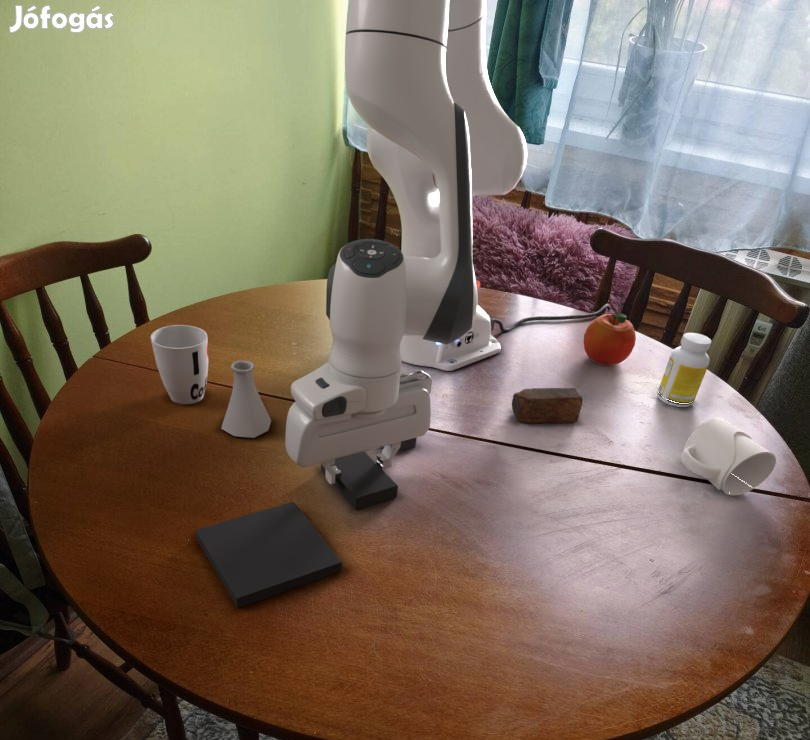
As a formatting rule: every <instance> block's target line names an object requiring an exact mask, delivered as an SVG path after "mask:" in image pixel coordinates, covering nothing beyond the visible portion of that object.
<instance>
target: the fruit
mask: <svg viewBox="0 0 810 740" xmlns="http://www.w3.org/2000/svg"><path fill="white" fill-rule="evenodd" d="M636 340H637V336H636V330H635V328H634V325H633V323H632V322H631V321H630V320H627V315H626V314H624V313H621V312H619V313H618V312H617V311H616V312H614V313H612V314H611V313H605V314H600V315H598V317H597V316H596V318H595V319H593V320H592V322H591V323H590V324H589V325H588V327H587V328H586V330H585V332H584V335H583V342H582V343H583V347H584V348H583V349H584V352H585V354H586V356H587V357H588V358H589V359H590V360H591V361H593V362H594V363H596V364H599V365H602V366H614V365H619V364H620V363H622V362H624V361H625V360H627V359H628V357H629V356H630V355H631V354H632V352H633V350H634V348H635V345H636Z"/></svg>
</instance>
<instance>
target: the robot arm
mask: <svg viewBox="0 0 810 740" xmlns="http://www.w3.org/2000/svg"><path fill="white" fill-rule="evenodd" d="M345 24H346V25H345V37H344V38H345V39H344V41H345V42H344V79H345V90H346V93H347V96H348V99H349V101H350V103H351V105H352V107H353V109H354V110H355V112H356V113H357V115H358V116H359V117H360V118H361V120H362V121H364V122H365V123H366V125H368V128H367V131H366V149H367V150H366V151H367V154H368V157H369V160H370V162H371V164H372V166H373V168H374V169H375V171H377V172H378V173H379V175H380V176H381V177H382V178H383V180H384V181H385V182H386V184H387V186H388V187H389V189H390V191H391V193H392V195H393V198H394V200H395V202H396V206H397V209H398V213H399V217H400V224H401V245H400V246H401V247H400V248H401V249H400V248H399V247H397V246H395V245H394V244H392V243H390V242H387V241H385V240H381V239H374V238H363V239H357V240H353V241H351V242H348V243H346V244H345V245H344V246H342V247H341V249H339V252H338V254H337V256H336V257H337V258H336V262H335V263H334V264H333V265H331V268H330V269H329V270H328V274H327V278H326V296H325V299H326V301H325V315H326V317H327V318H328V320H329V328H330V333H331V336H332V344H331V348H330V350H329V355H328V361H327V362H325V363H323V364H322V365H321V366H319V367H318V368H316V369H315V370H313V371H311V372H309V373H308V374H306V375H303V376H302V377H299V378H298V379H296V380H295V381H293V382H292V383H291V386H290V394H291V396H292V398H293V399H294V402H293V403H292V405H291V406H290V407H289V409H288V412H287V415H286V422H285V437H284V438H285V440H284V441H285V442H284V443H285V450H286V454H287V455H288V456H289V457H290V459H291V460H292V461H293V463H295V464H296V465H297V466H299V467H300V468H307V467H310V466H315V465H317V464H320V465H321V464H322V465H323V466H324V468H325V469H326V476H325V480H326V482H327V483H328V484H329V485H333V484H335V483H338V482H341V473H342V472H341V471H340V470H338V468H337V467H336V466H331V465H334V464H335V459H337V458H341V457H345V456H349V455H352V454H356V453H360V452H367V451H370V450H375V449H379V448H380V447H382V446H385V447H384V449H383V450H382V451H381V452H380V453H377V454H376V455H375V456H376V457H375V458H376V460H375V463H376V464H377V465H378V466H379V467H380V468H381V469H382V470H383V471H384V470H387V469H391V468H392V463H393V459H394V457H395V455H396V454H397V453H398V452H399V451H398V450H399V448H400V446H401V441H405V440H409V439H412V438H416V437H417V438H420V437H423V436H425V435H426V434H427V433H428V431H429V430H430V428H431V416H432V415H431V413H432V408H431V407H432V406H431V404H432V403H431V393H432V392H431V391H432V385H433V379H432V377H431V375H430V374H429V373H427V372H424V371H423V370H420V369H419V370H414V371H413V372H406V373H401V371H402V363H403V362H404V363H407V364H410V365H415V366H419V367H420V366H421V367H430V368H435V369H439V370H441V371H446V372H451V371H455V370H457V369H460V368H462V367H466V366H468V365H471V364H474V363H476V362H478V361H481V360H484V359H486V358H490V357H492V356H494V355H498V354H500V353H501V343H500V342H499V340H498V339H496V337H494V336H493V335H492V331H494V327H495V324H497V325H498V327H499V330H500V331H501V332H503V333H507V332H510V331H512V330H514V329H517V328H518V327H519V326H520V325H522V324H524V323H527V322H534V321H562V320H565V321H566V320H580V319H588V318H595V317H597V316H600V315H602V313H604V311H605V310H606V309H607V310H608V311H611V310H612V308H611V305H610V304H608V303H605V304H604V305H603V306H602V307H601V308H600V309H599V310H598V311H595V312H590V313H585V314H573V315H572V314H571V315H560V316H559V315H547V316H545V315H542V316H541V315H540V316H530V317H525V318H522V319H520V320H518V321H517V322H515V323H514V324H513V325H511V326H510V327H504V324H503V322H502V320H501V319H498V318H496V317H495V318H494V317H492V316H490V315H489V314H487V312H486V311H485V310H484V309H483V308H482V306H480V305H479V304H478V303H479V296H478V295H479V294H478V291H479V290H480V288H481V282H480V281H479V280H478V279H476V274H475V268H474V259H473V257H474V256H473V255H474V253H473V246H474V240H473V238H474V236H473V234H474V233H473V231H474V230H473V227H474V226H473V196H477V197H493V196H505V195H507V194H508V193H510V192H511V191H513V190H514V188H515V187H516V186H517V185H518V183H519V182H520V180H521V178H522V177H523V175H524V172H525V169H526V166H527V161H528V146H527V141H526V138H525V136H524V133H523V131H522V129H521V128H520V126H519V125H517V124H516V123H515V122H514V121H513V120H512V119H511V118H510V117H509V116H508V114H507V113H506V112H505V111H504V109H503V107H502V106H501V104H500V102H499V100H498V99H497V97H496V94H495V93H494V90H493V88H492V85H491V81H490V77H489V73H488V67H487V66H488V65H487V48H486V47H487V46H486V45H487V43H486V38H487V37H486V36H487V35H486V30H487V28H486V26H487V0H348V4H347V10H346V23H345ZM417 438H416V439H417ZM397 451H398V452H397Z"/></svg>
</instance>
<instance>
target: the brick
mask: <svg viewBox="0 0 810 740" xmlns="http://www.w3.org/2000/svg"><path fill="white" fill-rule="evenodd" d="M583 403H584V397H583V396H582V395H581V393H580V392H579V390H578V389H577V388H576V387H537V388H536V387H535V388H534V387H533V388H523V389H522V390H520V391H518V392H515V393H514V394H513V396H512V399H511V409H512V414H513V416H514V419H515V421H516V422H519V423H523V424H568V423H577V422H578V420H579V418H580V413H581V411H582V406H583Z"/></svg>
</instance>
